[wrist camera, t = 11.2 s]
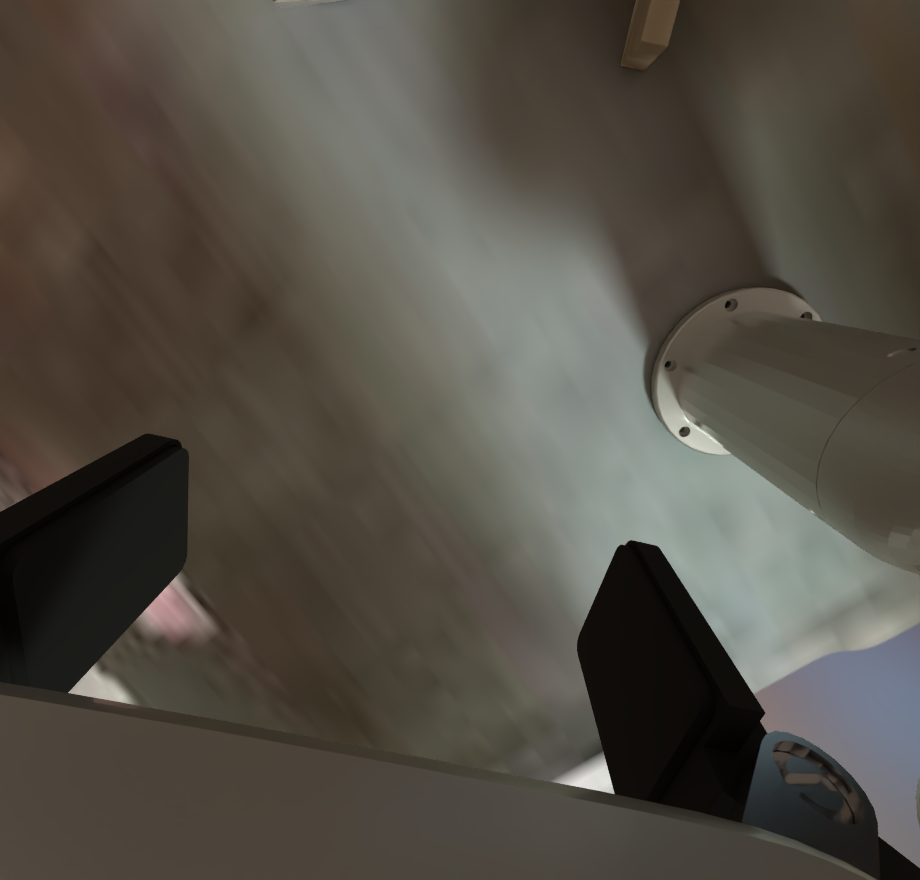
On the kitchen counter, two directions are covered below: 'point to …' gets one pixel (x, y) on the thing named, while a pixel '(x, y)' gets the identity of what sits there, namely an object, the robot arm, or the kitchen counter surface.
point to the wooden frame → (649, 32)
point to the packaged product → (300, 2)
